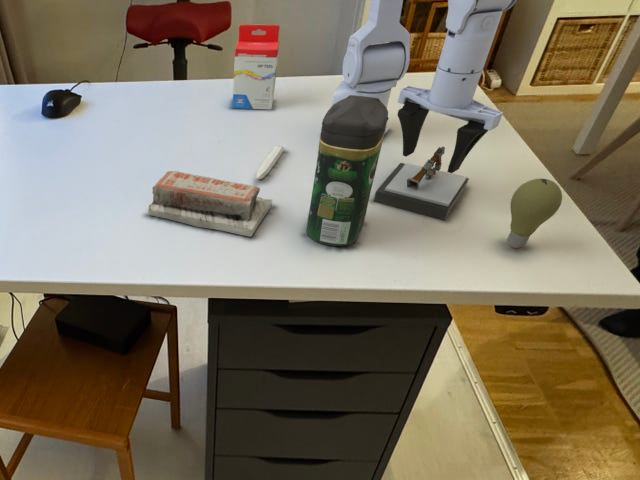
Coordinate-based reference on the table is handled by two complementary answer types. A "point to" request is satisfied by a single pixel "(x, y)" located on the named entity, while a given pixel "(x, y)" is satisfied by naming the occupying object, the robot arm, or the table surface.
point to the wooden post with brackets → (427, 169)
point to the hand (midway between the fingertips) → (430, 162)
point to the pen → (269, 161)
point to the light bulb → (532, 209)
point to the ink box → (255, 67)
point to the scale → (422, 191)
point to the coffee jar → (346, 169)
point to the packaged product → (208, 203)
